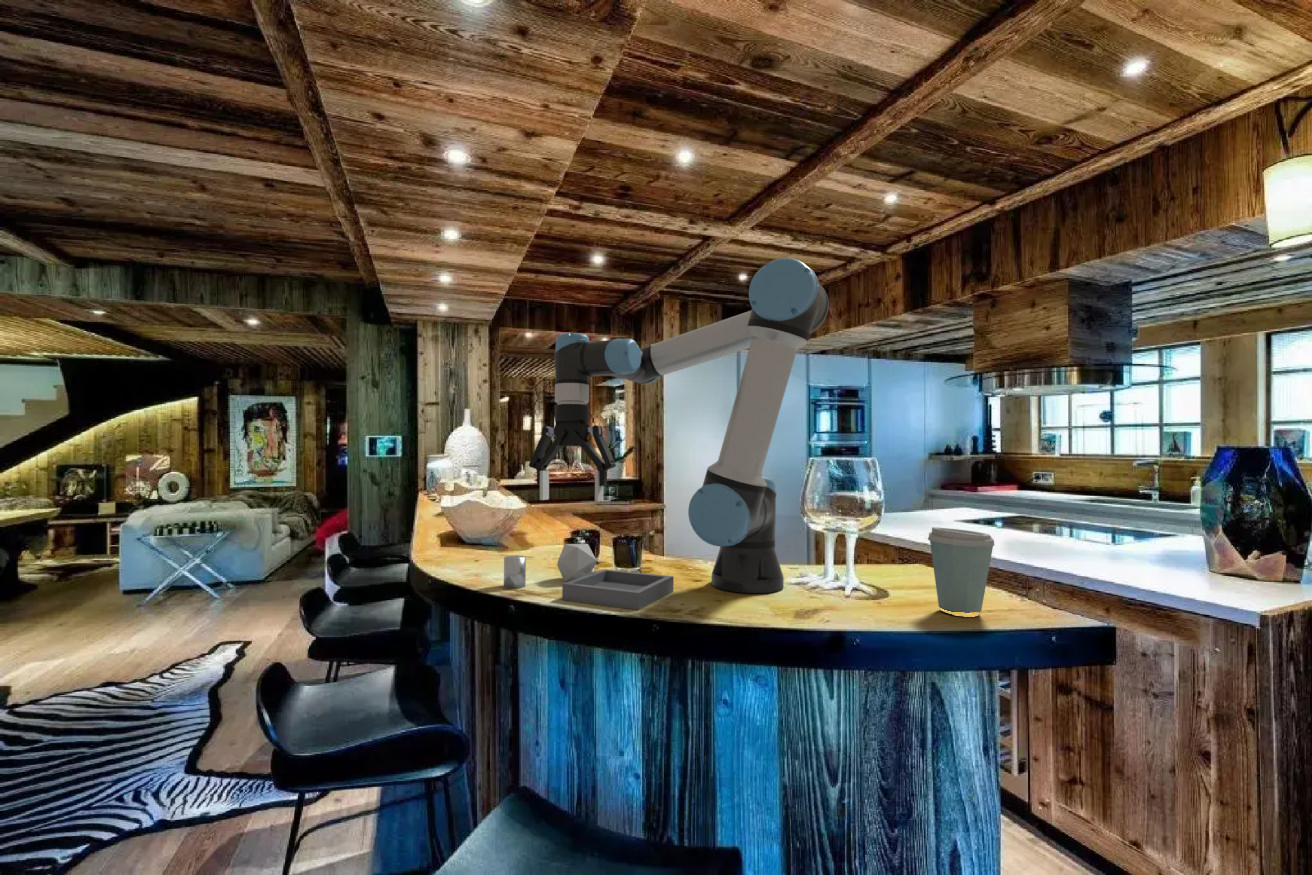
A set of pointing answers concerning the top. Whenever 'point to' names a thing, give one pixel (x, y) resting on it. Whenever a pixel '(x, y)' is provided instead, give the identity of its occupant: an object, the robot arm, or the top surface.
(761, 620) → the top surface
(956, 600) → the disposable coffee cup
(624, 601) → the slate tray
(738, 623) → the top surface
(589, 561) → the die
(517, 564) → the steel jigger
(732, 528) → the robot arm
